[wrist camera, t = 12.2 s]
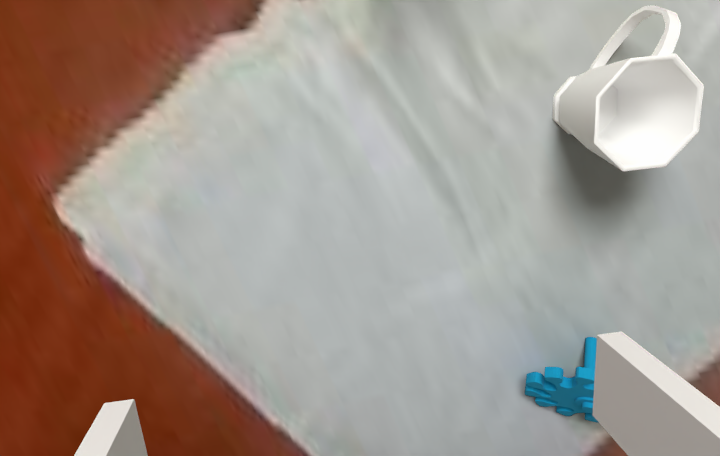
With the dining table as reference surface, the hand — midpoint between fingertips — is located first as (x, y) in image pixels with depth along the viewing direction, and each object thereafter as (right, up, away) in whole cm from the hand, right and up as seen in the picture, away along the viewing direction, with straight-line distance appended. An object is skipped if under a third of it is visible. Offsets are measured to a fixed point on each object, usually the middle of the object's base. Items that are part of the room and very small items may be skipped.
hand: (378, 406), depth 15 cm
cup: (+16, +15, +23) cm, 32 cm away
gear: (+18, -7, +30) cm, 36 cm away
